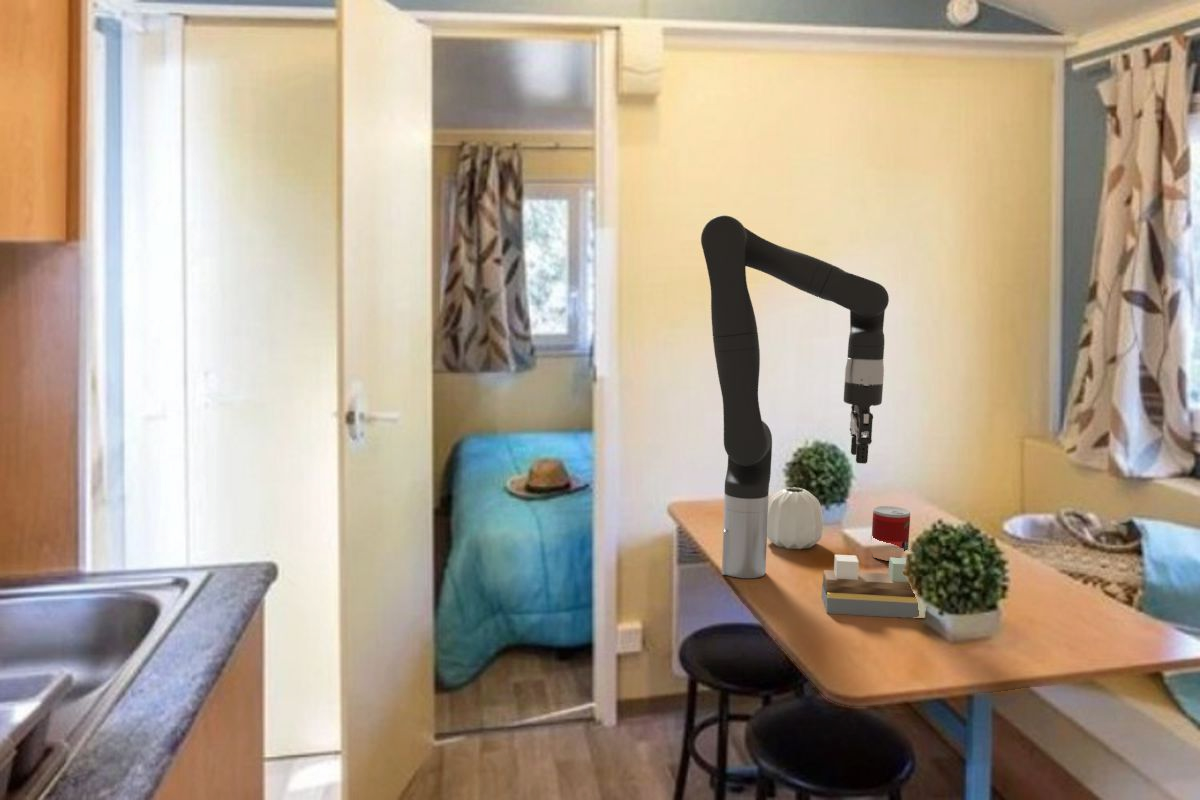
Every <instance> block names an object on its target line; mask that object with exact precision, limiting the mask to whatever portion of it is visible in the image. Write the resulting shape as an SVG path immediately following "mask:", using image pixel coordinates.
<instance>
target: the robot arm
mask: <svg viewBox="0 0 1200 800" xmlns="http://www.w3.org/2000/svg"><path fill="white" fill-rule="evenodd" d="M700 243H701V247H702V248H701V249H702V252H703V256H704V259H705V264H706V269H707V273H708V279H709V284H710V303H711V304H710V307H711V308H710V309H711V311H710V313H711V315H710V317H711V328H712V330H711V331H712V339H713V340H712V341H713V350H714V356H715V357H714V358H715V364H716V369H717V375H718V382H719V386H720V387H719V388H720V391H721V392H720V393H721V399H722V408H723V410H722V411H723V414H722V415H723V447H724V451H725V453H726V455H727V467H726V468H727V469H726V474H725V475H726V476H725V479H724V496H723V498H724V501H723V502H724V503H723V524H722V525H723V526H722V527H723V528H722V552H721V553H722V558H721V559H722V561H721V575H722V576H729V577H733V578H738V579H756V578H761V577H764V576H765V575H766V570H767V568H766V567H767V548H768V547H767V544H768V542H767V539H768V537H767V521H768V501H769V495H770V494H769V493H770V491H769V489H770V481H771V474H772V473H771V472H772V470H771V469H772V455H773V454H772V453H773V436H772V432H771V429H770V427H769V426H768V424H767V423H766V422H765V421H764V420H763V419H762V415H761V409H760V401H759V383H760V382H759V381H760V380H759V379H760V370H761V369H760V367H761V366H760V365H761V363H760V362H761V361H760V360H761V358H760V357H761V356H760V354H761V353H760V350H761V349H760V342H759V341H760V340H759V334H758V325H757V319H756V315H755V311H754V306H753V303H752V300H751V295H750V292H749V288H748V282H747V276H746V275H747V273H746V271H747V270H746V267H748V268H750V269H753V270H757V271H759V272H762V273H764V274H767V275H768V276H770V277H771V276H772V277H774V278H776V279H778V280H780V281H781V282H783V283H786V284H788V285H789V286H791V287H794V288H796V289H797V290H800V291H802V292H805V293H807V294H810V295H811V296H814V297H817V298H819V299H822V300H825V301H828V302H832V303H835V304H837V305H838V306H840V307H843V308H845V309H847V310H849V320H850V322H849V324H850V325H849V326H850V327H849V328H850V329H849V331H850V332H849V335H848V342H847V343H848V345H847V357H846V359H847V361H846V365H845V368H844V369H845V370H844V386H843V387H844V389H843V402H844V403H846V404H848V405H851V411H850V414H849V415H850V423H849V431H850V436H851V439H850V440H851V442H850V443H851V444H850V454H851V455H853V456H855V463H857V464H863V465H864V464H867V463H868V459H869V446H870V445H871V444H872V442H873V439H872V437H873V436H872V435H873V420H874V415H873V413H871V408H870V407H871V406H874V407H875V406H880V405H881V404H882V402H883V392H884V391H883V389H884V377H885V373H884V372H885V369H884V368H885V367H884V365H885V364H884V356H885V354H884V353H885V334H884V323H885V312H886V309H887V308H888V306H889V302H890V299H889V294H888V293H889V292H888V291H887V289H886V287H884V286H883V285H882V284H880V283H879V282H875V281H874V280H870V279H868V278H866V277H861V276H859V275H856V274H853V273H850V272H847V271H845V270H843V269H842V268H840V267H838V266H836V265H833V263H829V262H827V261H824V260H821V259H820V258H817V257H815V256H812V255H809V254H805V253H802V252H801V251H796V250H792V249H790V248H787V247H785V246H784V247H783V246H781V245H779V244H776V243H773V242H771V241H770V240H767V239H765V238H763V237H761V236H759V235H758V234H756V233H754V232H753V231H751V230H749V229H748V228H746V227H745V226H744V225H743V223H742V222H741V221H739V220H738V219H737V218H735V217H732V216H730V215H725V214H723V215H718V216H715V217H712V218H711V219H709V221H708V222H707V223H706V224H705V225H704V227H703V229H702V232H701V235H700Z"/></svg>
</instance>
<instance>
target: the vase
mask: <svg viewBox="0 0 1200 800" xmlns="http://www.w3.org/2000/svg"><path fill="white" fill-rule="evenodd" d="M823 530H824V517H823V511H822V506H821V502H820V501H819V499H818V498H817V497H816V496H814V495H813V494H812V493H811V492H810V491H808V490H806V489H805V488H801V487H793V486H792V487H786V488H782V489H780V490H778V491H777V492H775V493H774V494H773V495H772V496H771V497H769V498H768V521H767V539H768V540H769V542H770V543H771V544H774V545H775V546H777V547H779V548H785V549H789V550H791V549H795V550H801V549H811V548H812V547H813V546H815V545H817V543H819V542H820V540H821V539H822V535H823Z"/></svg>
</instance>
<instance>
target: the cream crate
mask: <svg viewBox="0 0 1200 800" xmlns="http://www.w3.org/2000/svg"><path fill="white" fill-rule="evenodd" d="M833 562H834V563H833V565H834V566H833V571H834V573H835V576H836V579H851V580H858V572H860V571H859V570H860V569H859V567H860V566H859V564H860V561H859V559H858V557H857V555H849V554H834V561H833Z"/></svg>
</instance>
